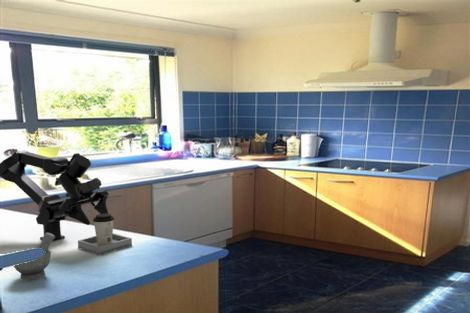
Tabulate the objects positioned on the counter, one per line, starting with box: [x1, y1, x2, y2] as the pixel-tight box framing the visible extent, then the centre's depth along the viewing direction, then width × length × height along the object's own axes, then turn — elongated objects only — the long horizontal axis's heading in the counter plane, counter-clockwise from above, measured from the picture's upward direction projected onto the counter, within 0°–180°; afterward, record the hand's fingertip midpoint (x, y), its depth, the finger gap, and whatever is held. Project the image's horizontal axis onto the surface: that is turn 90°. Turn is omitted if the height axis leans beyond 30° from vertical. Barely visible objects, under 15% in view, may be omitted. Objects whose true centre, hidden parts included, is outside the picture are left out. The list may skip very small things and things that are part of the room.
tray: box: [77, 232, 133, 256], centre depth 150 cm, size 13×13×2 cm
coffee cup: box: [92, 213, 115, 246], centre depth 150 cm, size 7×7×10 cm
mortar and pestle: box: [13, 233, 55, 282], centre depth 123 cm, size 11×9×12 cm
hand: (98, 220), depth 150 cm, fingers open, 9 cm apart
